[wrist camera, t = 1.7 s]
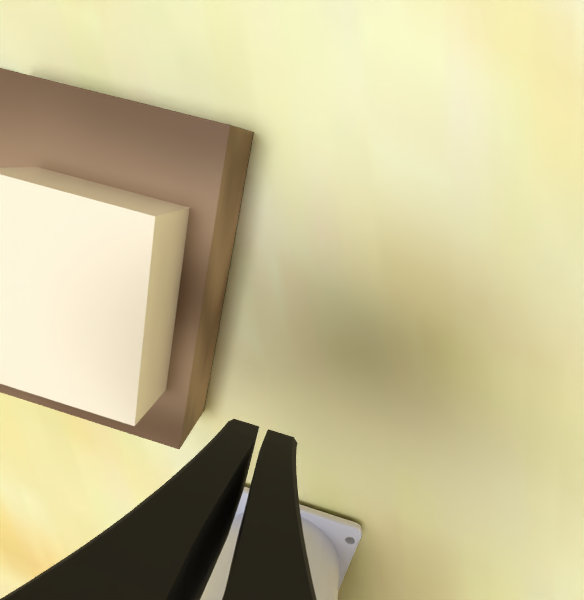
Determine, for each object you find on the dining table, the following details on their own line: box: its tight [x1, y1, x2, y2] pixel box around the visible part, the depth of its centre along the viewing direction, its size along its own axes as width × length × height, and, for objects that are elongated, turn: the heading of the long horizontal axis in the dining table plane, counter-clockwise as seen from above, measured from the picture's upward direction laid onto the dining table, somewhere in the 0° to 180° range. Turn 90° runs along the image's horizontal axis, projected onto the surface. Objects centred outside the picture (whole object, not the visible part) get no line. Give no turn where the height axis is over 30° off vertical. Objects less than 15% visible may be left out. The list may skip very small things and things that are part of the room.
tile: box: [0, 167, 190, 426], centre depth 14 cm, size 8×6×2 cm
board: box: [0, 68, 254, 449], centre depth 17 cm, size 14×10×3 cm
